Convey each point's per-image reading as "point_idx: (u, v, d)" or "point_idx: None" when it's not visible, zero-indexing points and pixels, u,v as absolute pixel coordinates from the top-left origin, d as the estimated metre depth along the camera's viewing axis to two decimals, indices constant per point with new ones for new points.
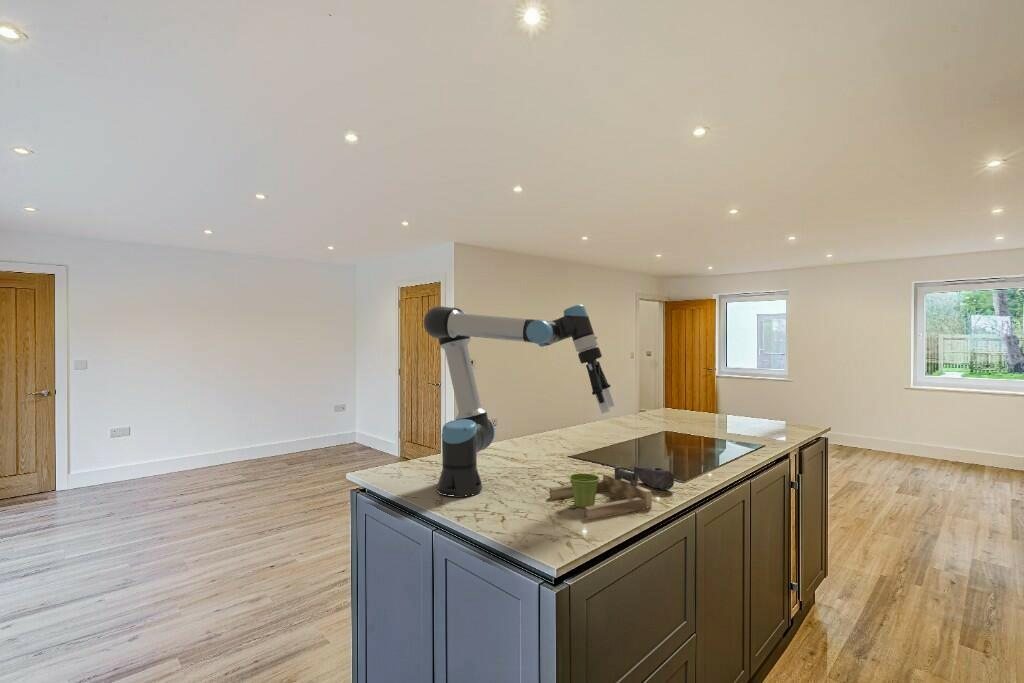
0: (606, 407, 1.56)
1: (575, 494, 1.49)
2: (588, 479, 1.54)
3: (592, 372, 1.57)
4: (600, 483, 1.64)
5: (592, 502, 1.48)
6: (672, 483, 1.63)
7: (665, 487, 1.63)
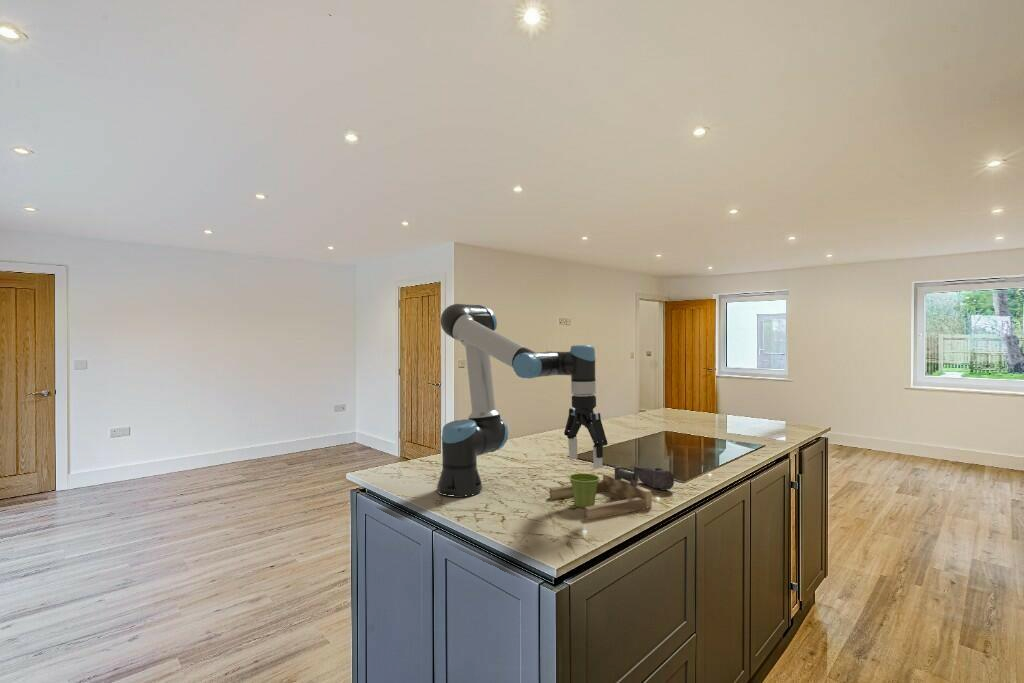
0: (600, 463, 1.44)
1: (575, 494, 1.49)
2: (588, 479, 1.54)
3: (598, 423, 1.44)
4: (600, 483, 1.64)
5: (592, 502, 1.48)
6: (672, 483, 1.63)
7: (665, 487, 1.63)
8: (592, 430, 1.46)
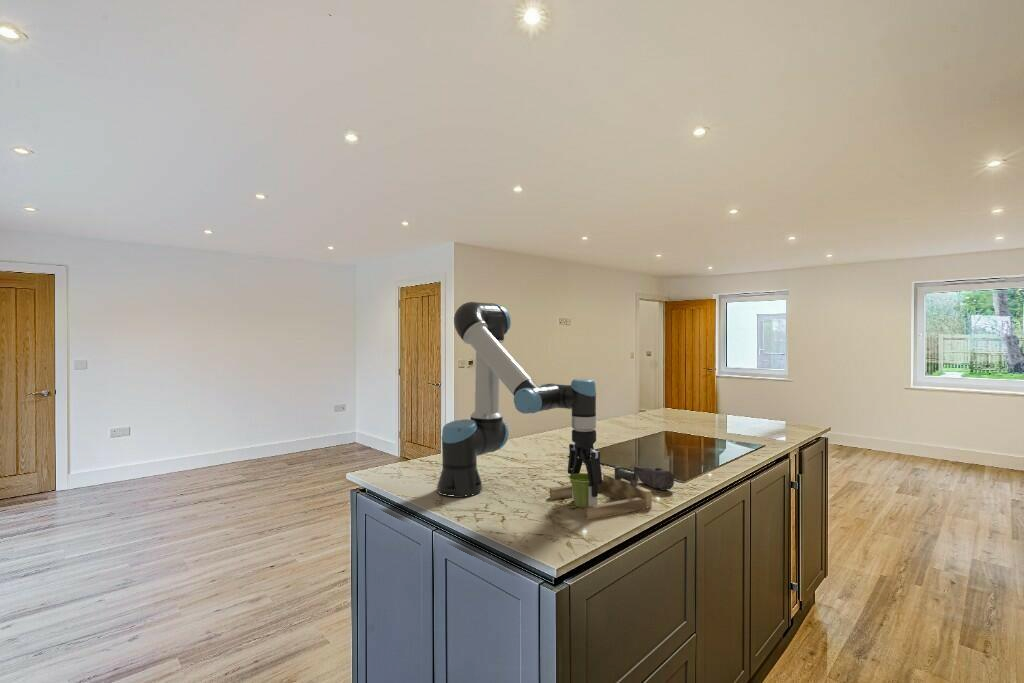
0: (595, 501, 1.47)
1: (575, 494, 1.49)
2: (588, 478, 1.54)
3: (597, 462, 1.45)
4: None
5: None
6: (672, 483, 1.63)
7: (665, 487, 1.63)
8: (590, 468, 1.47)
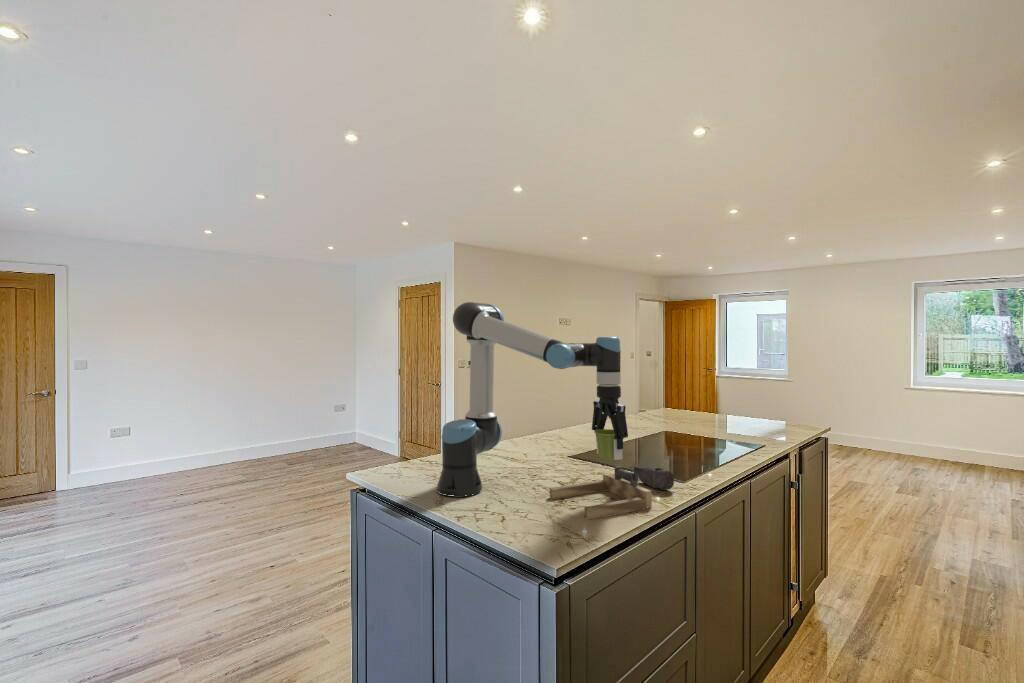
0: (620, 454, 1.51)
1: (600, 448, 1.53)
2: (612, 434, 1.58)
3: (622, 415, 1.49)
4: (600, 483, 1.64)
5: None
6: (672, 483, 1.63)
7: (665, 487, 1.63)
8: (615, 422, 1.51)
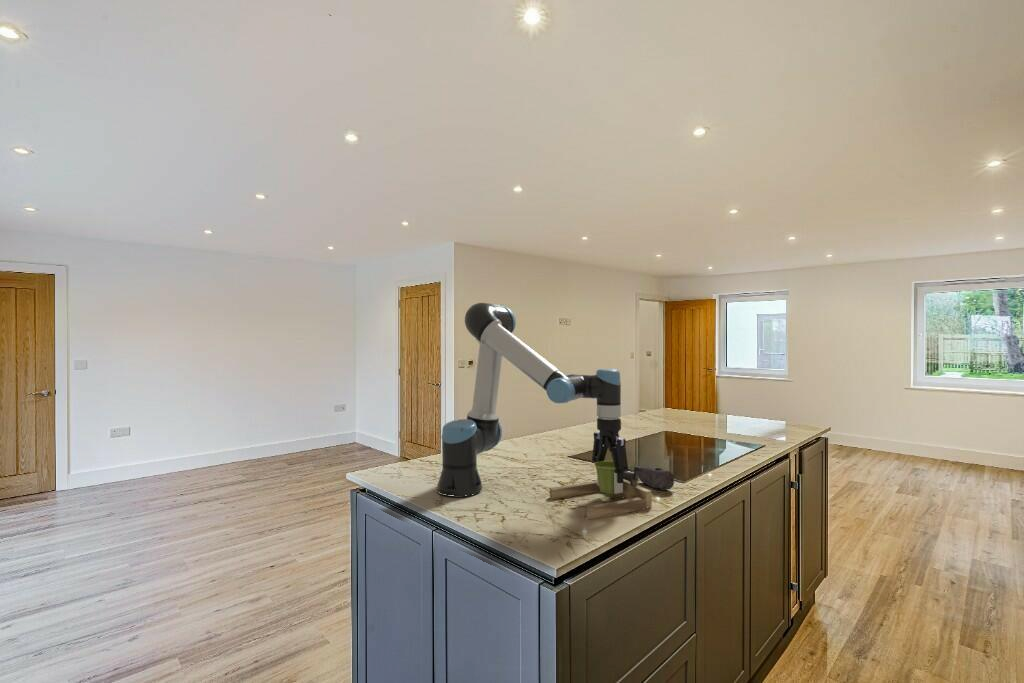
0: (621, 487, 1.51)
1: (601, 481, 1.53)
2: (612, 466, 1.58)
3: (622, 449, 1.49)
4: None
5: None
6: (672, 483, 1.63)
7: (665, 487, 1.63)
8: (615, 455, 1.51)
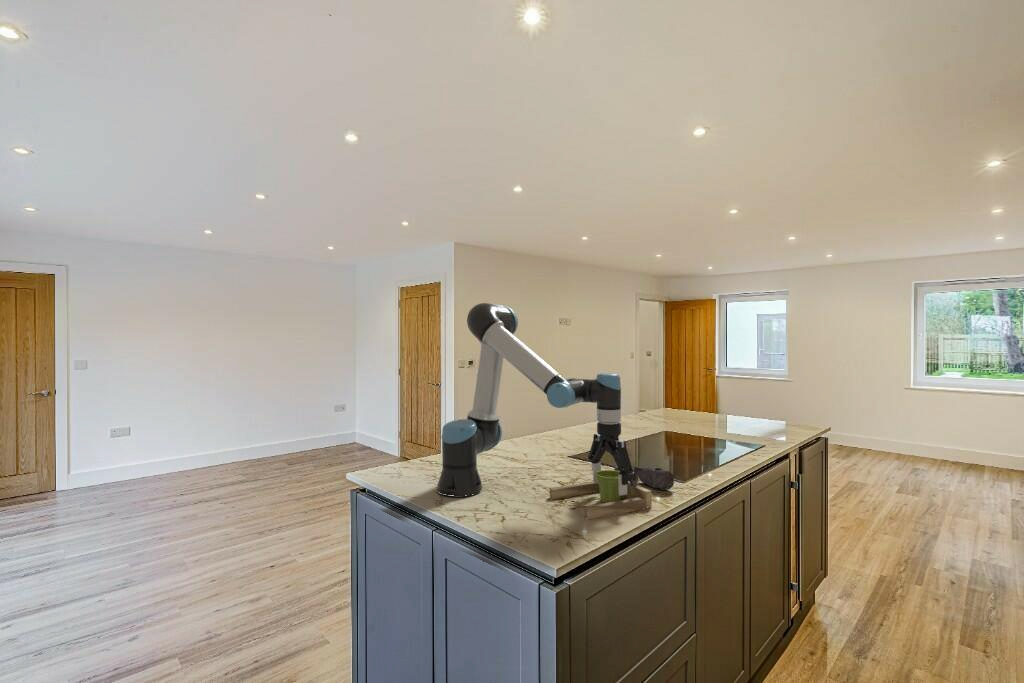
0: (625, 489, 1.49)
1: (602, 490, 1.53)
2: (613, 475, 1.58)
3: (624, 451, 1.48)
4: None
5: (618, 498, 1.52)
6: (672, 483, 1.63)
7: (665, 487, 1.63)
8: (617, 457, 1.50)
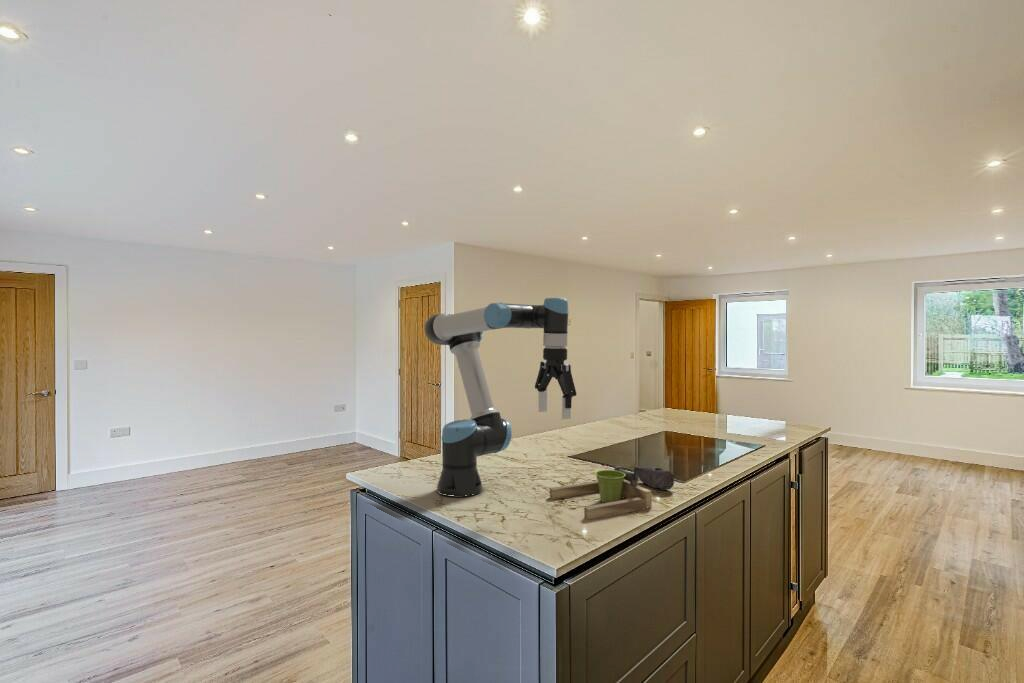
0: (569, 413, 1.47)
1: (601, 490, 1.53)
2: (613, 475, 1.58)
3: (568, 374, 1.46)
4: None
5: (618, 498, 1.52)
6: (672, 483, 1.63)
7: (665, 487, 1.63)
8: (562, 381, 1.47)
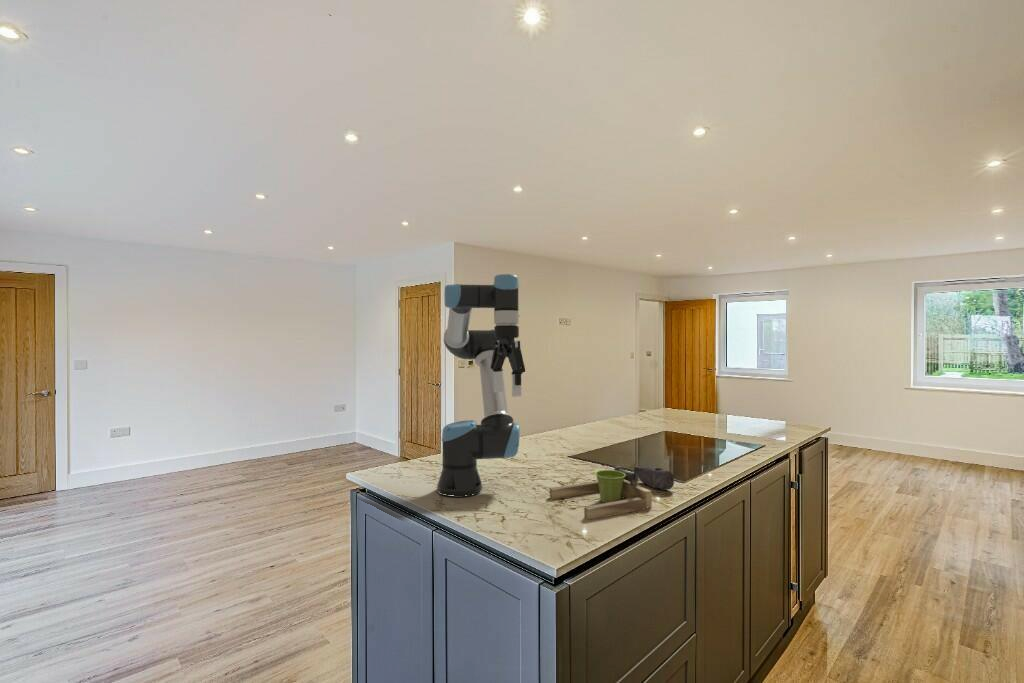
0: (519, 391, 1.43)
1: (601, 490, 1.53)
2: (613, 475, 1.58)
3: (517, 350, 1.43)
4: None
5: (618, 498, 1.52)
6: (672, 483, 1.63)
7: (665, 487, 1.63)
8: (512, 358, 1.44)
